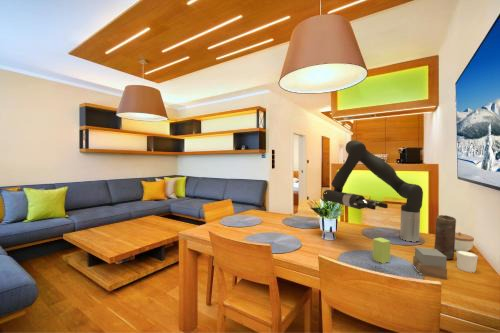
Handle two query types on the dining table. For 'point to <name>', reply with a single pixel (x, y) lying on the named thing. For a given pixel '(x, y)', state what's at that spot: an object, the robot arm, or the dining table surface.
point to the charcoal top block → (430, 257)
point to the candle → (445, 235)
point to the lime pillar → (381, 250)
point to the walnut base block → (430, 270)
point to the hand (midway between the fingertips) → (381, 206)
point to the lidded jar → (463, 242)
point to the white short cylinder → (466, 261)
